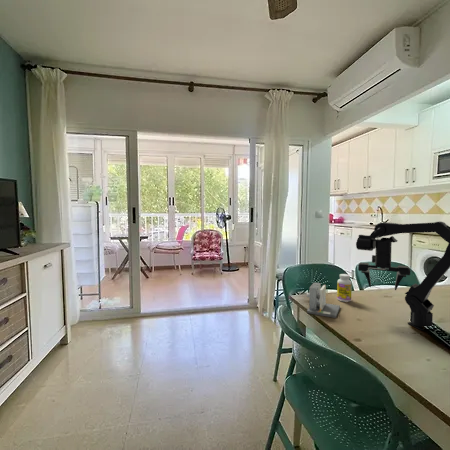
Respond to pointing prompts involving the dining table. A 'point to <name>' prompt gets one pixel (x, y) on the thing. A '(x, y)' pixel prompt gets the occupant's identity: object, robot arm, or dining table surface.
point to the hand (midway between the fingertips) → (382, 288)
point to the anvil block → (314, 296)
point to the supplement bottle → (344, 288)
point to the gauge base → (326, 310)
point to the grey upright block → (321, 297)
